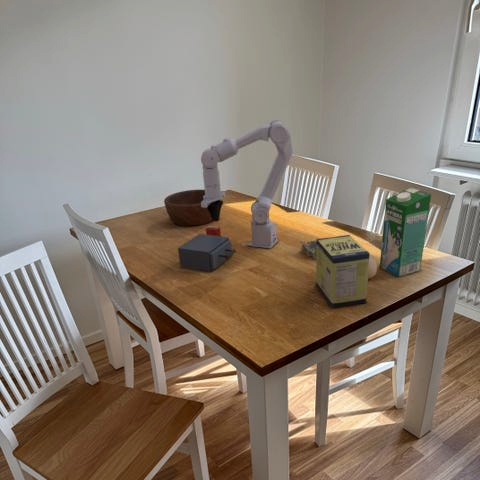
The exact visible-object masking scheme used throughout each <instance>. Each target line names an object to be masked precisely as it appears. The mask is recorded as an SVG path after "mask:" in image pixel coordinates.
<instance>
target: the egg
mask: <svg viewBox="0 0 480 480" xmlns="http://www.w3.org/2000/svg"><path fill="white" fill-rule="evenodd" d="M377 271H378V262H377V260H376V258H375V256H374V255H372V254H370V255H369V268H368V280H370V279H372V278H373V277H375V275H376V274H377Z"/></svg>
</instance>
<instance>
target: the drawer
mask: <svg viewBox="0 0 480 480" xmlns="http://www.w3.org/2000/svg"><path fill="white" fill-rule="evenodd" d="M235 253H237V250H236V248H233V249H232V240H230V239H229V240H228V241H226V242H225V243H223V244H221V245H220V246H219V247H217V248H216V249H214V250H213V251H212V252H210V253H209V254H210V263H211V269H214V270H215V269H217V268H218V267H219V266H221V265H222V264H223V263H224V262H226V261H227V260H228V259H229V258H231V257H232V256H233V255H234V254H235Z"/></svg>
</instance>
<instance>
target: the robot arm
mask: <svg viewBox="0 0 480 480" xmlns="http://www.w3.org/2000/svg"><path fill="white" fill-rule="evenodd" d="M269 139H270V141H271V142H272V143H273V144H274V146H275V148H276V151H277V153H276V156H275V158H274V161H273V163H272V165H271V168H270V170H269V173H268V175H267V178H266V180H265V182H264V184H263V186H262V189H261V192H260V194H259V195H258V196H257V198H256V199H255V200H254V202H253V203H251V207H250V211H251V219H250V228H251V241H250V242H249V243H248V244H247V246H248V247H256V248H263V249H264V248H265V249H272V247H274V246H275V245H276V244H277V243H278V242H279V239H278V226H277V225H278V224H277V223H276V222H274V221H271V218H270V211H271V210H270V209H271V207H272V203H273V202H272V201H273V199H274V197H275V195H276V192H277V190H278V188H279V186H280V183H281V181H282V179H283V177H284V174H285V172H286V169H287V167H288V165H289V163H290V161H291V158H292V157H293V144H292V135H291V133H290V130H289V129H288V127H287V126H286V125H285V123H284V122H283V121H282V120H279V119H274V120H272V121H271V122H268V123H267V122H266V123H265V124H262V125H260V126H258V127H256V128H255V129H252V130H251V131H249V132H247V133H245V134H243V135H242V136H239V137H238V138H236V139H233V138H227V137H225V138H223V139H222V141H221V142H220V143H218V144H216V145H214V144H213V145H211V146H210V148H206V149H204V150H203V151H202V152H201V156H200V162H201V164H202V179H203V186H204V190H205V196H203V198H204V200H203V201H202V202H201V207H204V208H207V209H208V211H209V213H210V215H211V218H212V221H211V222H219V221H220V217H221V211H222V206H223V204H224V200H222V198H225V197H226V191H225V190H221V181H220V171H219V167H218V163H222V162H224V161H226V160H228V159H231V158H233V157H235V156H237V155H238V152H239V150H240V149H242V148H244V147H247V146H249V145H251V144H254V143H256V142H258V141H264V142H269Z"/></svg>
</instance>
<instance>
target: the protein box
mask: <svg viewBox="0 0 480 480" xmlns="http://www.w3.org/2000/svg"><path fill="white" fill-rule="evenodd" d="M316 240H317V250H316V259H315V260H316V261H315V272H316V273H315V286H316V287H317V289H318V290H319V292H320V293H321V295H322V296H323V297H324V299H325V300H326V301H327V303H328V304H329V306H330V308H332V309H333V308H334V309H335V308H340V307H345V306H353V305H360V304H361V305H362V304H366V303H367V295H368V283H369V282H368V280H369V279H368V268H369V255H371V254H370V252H369V251H368V250H367V249H366V248H365V247H364V246H363V245H361V244H360V243H359V241H357V240H356V239H354V237H353V236H351V235H350V234H344V235H337V236H328V237H321V238H316Z"/></svg>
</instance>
